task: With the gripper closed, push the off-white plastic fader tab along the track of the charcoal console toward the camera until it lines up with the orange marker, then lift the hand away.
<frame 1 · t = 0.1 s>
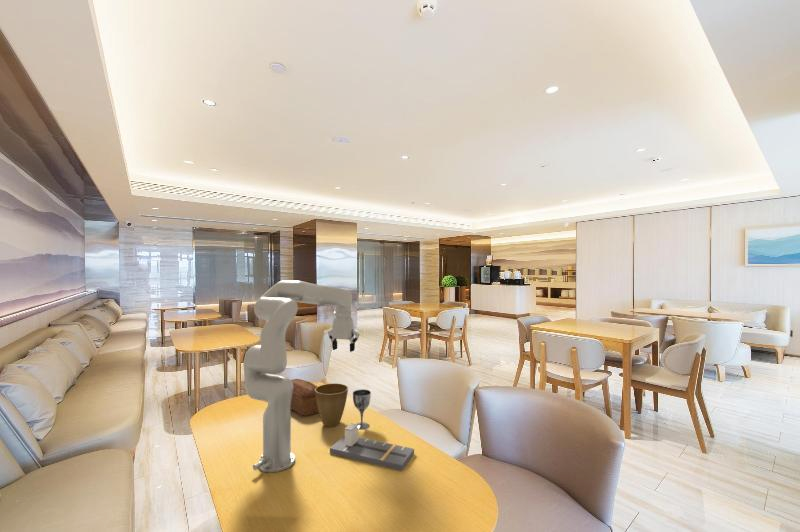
hand: (343, 350, 169), 31 cm above the table, tool pointing down, fingers open, 9 cm apart
plant pot: (331, 423, 160), on the table
wine glass: (361, 426, 157), on the table
console: (371, 453, 134), on the table
bread: (301, 407, 179), on the table
fader tab: (351, 434, 137), point 6 cm above the table, slide at 0.0 cm
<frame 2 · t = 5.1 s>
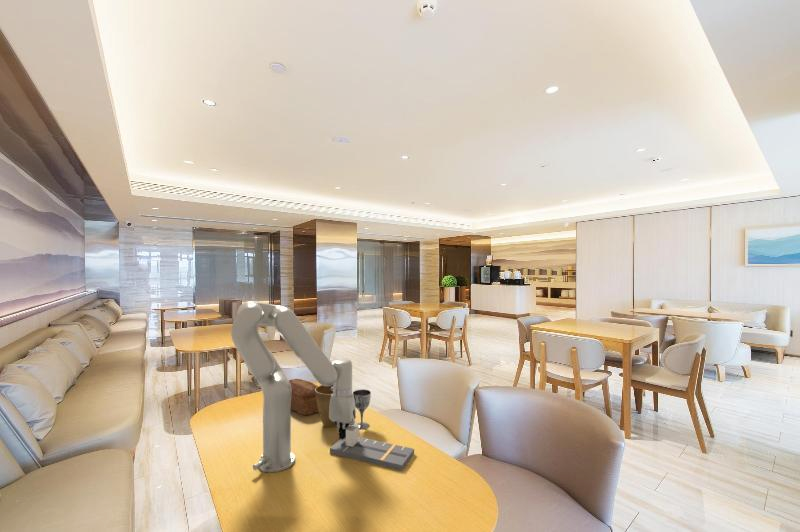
hand: (342, 437, 139), 4 cm above the table, tool pointing down, fingers closed
fader tab: (352, 434, 137), point 6 cm above the table, slide at 0.5 cm, touching gripper
everything else where it was.
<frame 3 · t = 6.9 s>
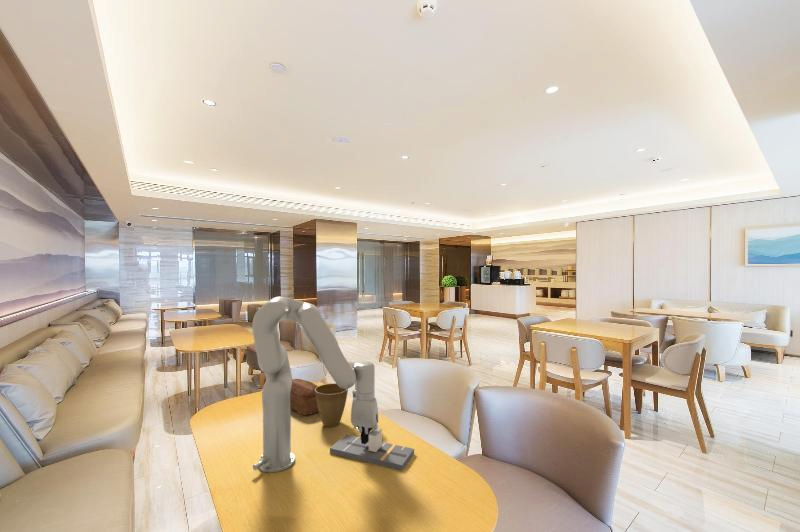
hand: (365, 442, 135), 4 cm above the table, tool pointing down, fingers closed
fader tab: (375, 439, 133), point 6 cm above the table, slide at 10.5 cm, touching gripper
everything else where it was.
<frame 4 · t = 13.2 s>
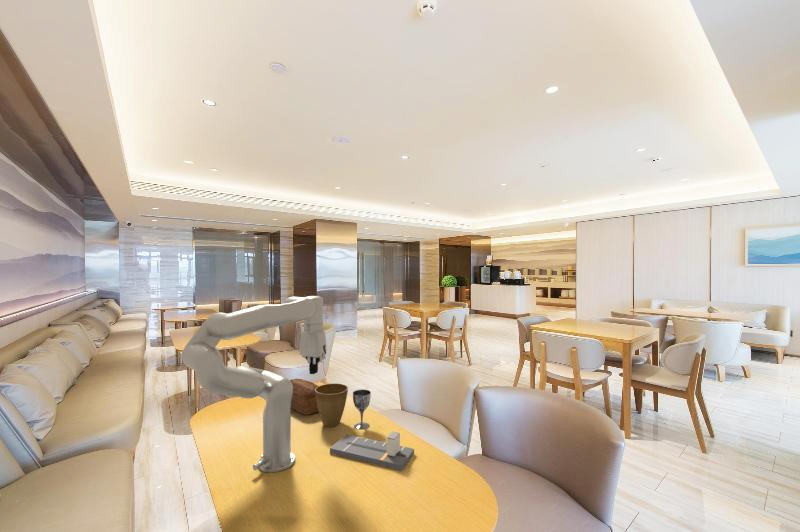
hand: (313, 373, 139), 29 cm above the table, tool pointing down, fingers closed
fader tab: (393, 443, 130), point 6 cm above the table, slide at 18.0 cm
everything else where it was.
at the end: fader tab slide at 18.0 cm; wine glass moved 0.2 cm from its start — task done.
